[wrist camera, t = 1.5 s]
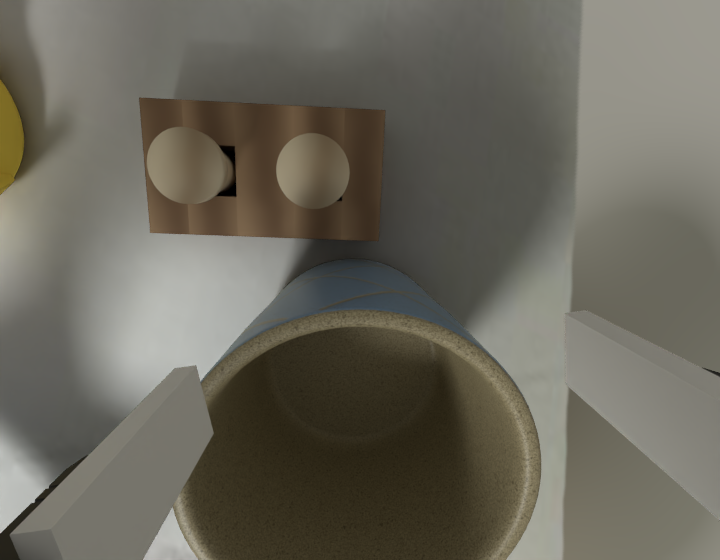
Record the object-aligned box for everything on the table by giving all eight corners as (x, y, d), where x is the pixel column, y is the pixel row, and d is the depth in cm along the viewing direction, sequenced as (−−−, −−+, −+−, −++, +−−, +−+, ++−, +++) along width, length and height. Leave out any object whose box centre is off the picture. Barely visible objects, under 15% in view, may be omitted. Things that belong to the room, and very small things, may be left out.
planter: (450, 247, 44) (565, 307, 21) (440, 422, 49) (523, 625, 26) (252, 248, 43) (143, 310, 20) (263, 425, 48) (186, 637, 25)
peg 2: (289, 205, 37) (276, 207, 30) (289, 143, 36) (275, 131, 29) (348, 207, 38) (348, 210, 31) (350, 146, 36) (350, 134, 29)
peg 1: (187, 200, 37) (150, 202, 30) (183, 138, 36) (143, 124, 29) (247, 203, 37) (223, 205, 30) (245, 141, 36) (220, 128, 29)
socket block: (177, 227, 42) (150, 232, 36) (170, 111, 39) (139, 97, 33) (374, 234, 43) (378, 241, 37) (379, 122, 40) (385, 110, 34)
